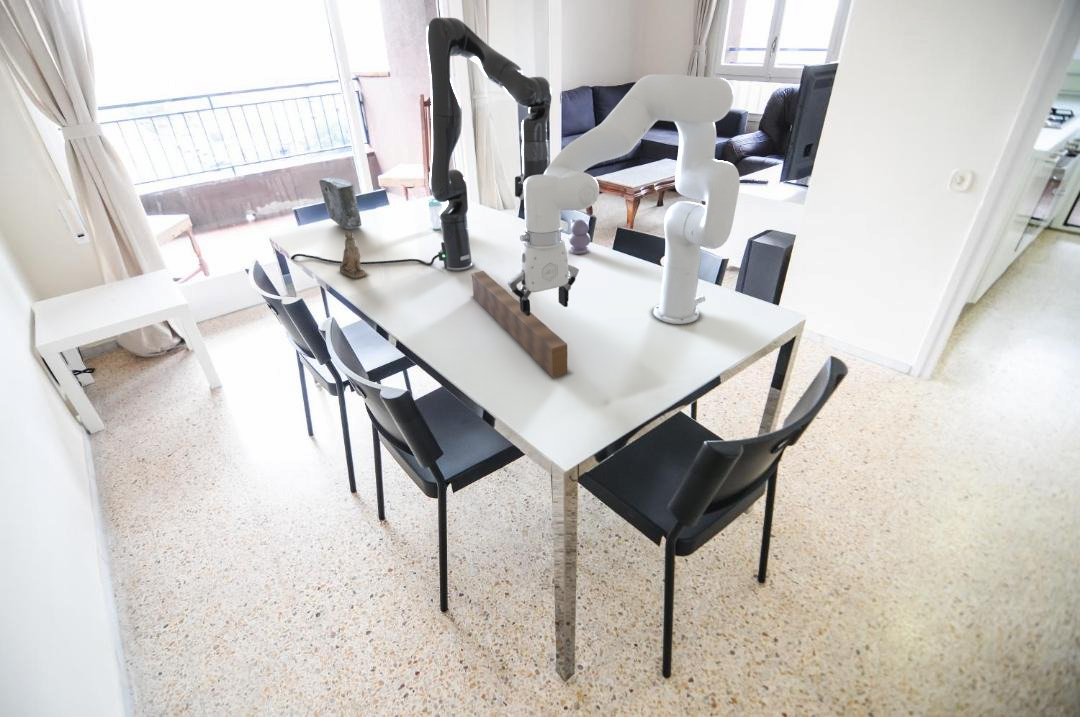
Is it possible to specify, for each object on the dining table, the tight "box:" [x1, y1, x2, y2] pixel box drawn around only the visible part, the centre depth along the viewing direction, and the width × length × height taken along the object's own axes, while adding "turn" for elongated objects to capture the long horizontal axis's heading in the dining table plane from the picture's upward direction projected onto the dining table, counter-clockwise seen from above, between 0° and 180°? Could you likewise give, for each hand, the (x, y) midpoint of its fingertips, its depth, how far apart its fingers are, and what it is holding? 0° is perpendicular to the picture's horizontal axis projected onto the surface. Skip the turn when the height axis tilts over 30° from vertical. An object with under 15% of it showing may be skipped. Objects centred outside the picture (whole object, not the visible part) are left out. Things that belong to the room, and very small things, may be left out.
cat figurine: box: [568, 218, 591, 255], centre depth 187 cm, size 8×8×12 cm
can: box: [426, 198, 445, 230], centre depth 220 cm, size 7×7×12 cm
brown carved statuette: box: [339, 229, 367, 280], centre depth 174 cm, size 12×6×18 cm, turn 43°
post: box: [470, 270, 568, 379], centre depth 136 cm, size 53×4×8 cm, turn 27°
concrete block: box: [318, 176, 362, 230], centre depth 224 cm, size 27×9×20 cm, turn 36°
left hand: (536, 213), depth 151 cm, fingers open, 8 cm apart
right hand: (544, 309), depth 115 cm, fingers open, 9 cm apart
